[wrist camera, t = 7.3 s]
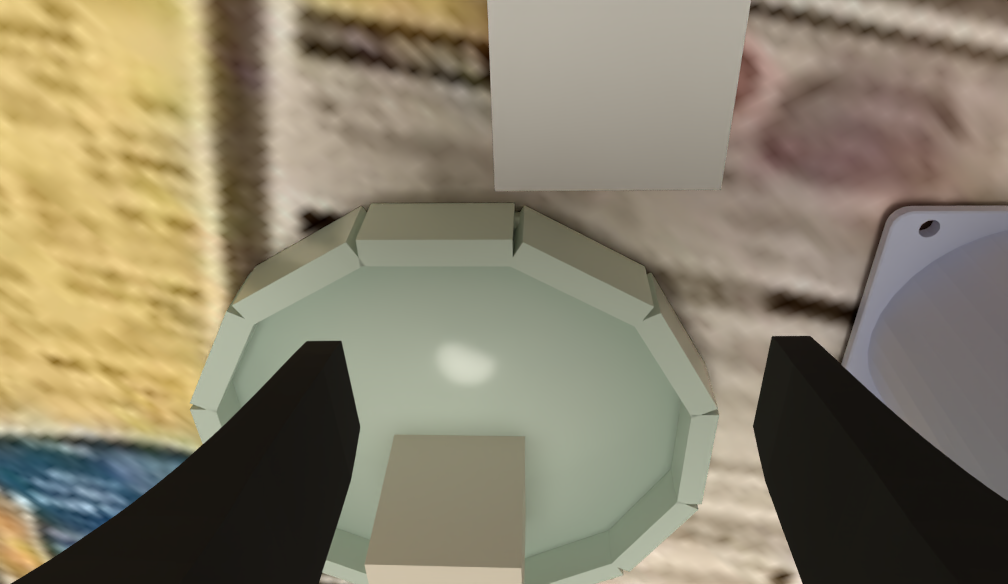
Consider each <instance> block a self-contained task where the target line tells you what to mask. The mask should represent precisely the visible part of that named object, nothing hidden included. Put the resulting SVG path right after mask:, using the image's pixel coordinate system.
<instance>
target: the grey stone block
mask: <svg viewBox="0 0 1008 584" xmlns="http://www.w3.org/2000/svg"><path fill="white" fill-rule="evenodd" d="M750 3H751V0H487V5H488V30H489V56H490V82H491V108H492V134H493V160H494V186H495V191H624V190H721V186H722V180H723V173H724V167H725V161H726V155H727V148H728V142H729V136H730V129H731V123H732V117H733V110H734V104H735V98H736V92H737V85H738V79H739V73H740V66H741V60H742V54H743V47H744V41H745V35H746V28H747V22H748V16H749V10H750Z"/></svg>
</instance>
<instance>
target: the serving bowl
mask: <svg viewBox="0 0 1008 584" xmlns="http://www.w3.org/2000/svg"><path fill="white" fill-rule="evenodd" d="M306 341H342V345H343V350H344V355H345V359H346V364H347V368H348V373H349V377H350V382H351V386H352V391H353V395H354V400H355V405H356V409H357V414H358V418H359V423H360V433H359V439H358V445H357V451H356V457H355V462H354V467H353V473H352V478H351V482H350V485H349V489H348V492H347V495H346V499H345V502H344V505H343V508H342V511H341V515H340V518H339V521H338V524H337V527H336V530H335V534H334V537H333V540H332V543H331V546H330V549H329V552H328V556H327V559H326V562H325V565H324V568H323V571H322V573H325V574H328V575H331V576H334V577H337V578H339V579H342V580H345V581H348V582H351V583H354V584H369V583H368V579H367V574H366V570H365V565H364V564H365V560H366V555H367V551H368V547H369V542H370V538H371V534H372V529H373V525H374V521H375V516H376V512H377V508H378V503H379V499H380V495H381V490H382V486H383V482H384V478H385V473H386V469H387V465H388V460H389V456H390V452H391V447H392V443H393V439H394V435H464V436H525V502H526V530H525V575H524V584H596V583H599V582H603V581H606V580H609V579H612V578H616V577H619V576H622V575H623V570H626V571H629V572H630V571H631V570H632V569H633V568H634V567H635V566H636V565H638V564H639V563H640V562H641V561H642V560H643V559H644V558H645V557H646V556H648V555H649V554H650V553H651V552H652V551H653V550H654V549H655V548H656V547H657V546H659V545H660V544H661V543H662V542H663V541H664V540H665V539H666V538H667V537H669V536H670V535H671V534H672V533H673V532H674V531H675V530H676V529H677V528H678V527H680V526H681V525H682V524H683V523H684V522H685V521H686V520H687V519H688V518H690V517H691V516H692V515H693V514H694V513H695V512H696V511H697V510H698V506H697V504H702V500H703V495H704V489H705V484H706V479H707V474H708V469H709V464H710V459H711V454H712V449H713V444H714V439H715V434H716V429H717V424H718V419H719V413H718V410H717V409H718V407H717V403H716V400H715V397H714V393H713V390H712V386H711V383H710V379H709V376H708V373H707V369H706V366H705V363H704V362H703V360H702V358H701V356H700V355H699V353H698V351H697V350H696V348H695V346H694V345H693V343H692V341H691V339H690V338H689V336H688V334H687V333H686V331H685V329H684V327H683V326H682V324H681V322H680V321H679V319H678V317H677V315H676V314H675V312H674V310H673V309H672V307H671V305H670V304H669V302H668V300H667V298H666V297H665V295H664V293H663V292H662V290H661V288H660V286H659V285H658V283H657V281H656V280H655V278H654V276H653V275H652V273H649V274H647V273H646V269H645V266H643V265H641V264H639V263H637V262H635V261H633V260H631V259H629V258H627V257H625V256H623V255H621V254H619V253H617V252H615V251H613V250H611V249H609V248H607V247H605V246H604V245H602V244H600V243H598V242H596V241H594V240H592V239H590V238H588V237H586V236H584V235H582V234H580V233H578V232H576V231H574V230H572V229H570V228H568V227H566V226H564V225H562V224H560V223H558V222H556V221H554V220H552V219H550V218H549V217H547V216H545V215H543V214H541V213H539V212H537V211H535V210H533V209H531V208H529V207H527V206H525V205H524V207H523V208H522V210H521V211H520V212H516V211H515V203H371V204H370V207H369V209H368V212H366V211H365V209H364V208H363V207H362V206H360V207H359V208H357V209H355V210H353V211H352V212H350V213H348V214H346V215H345V216H343V217H341V218H339V219H338V220H336V221H334V222H332V223H331V224H329V225H327V226H325V227H324V228H322V229H320V230H318V231H317V232H315V233H313V234H311V235H310V236H308V237H306V238H304V239H303V240H301V241H299V242H297V243H296V244H294V245H292V246H290V247H289V248H287V249H285V250H283V251H282V252H280V253H278V254H276V255H275V256H273V257H271V258H269V259H268V260H266V261H264V262H262V263H261V264H259V265H257V266H255V268H254V270H253V271H252V272H250V274H249V275H248V277H247V279H246V280H245V282H244V283H243V285H242V287H241V288H240V290H239V292H238V293H237V295H236V296H235V298H234V300H233V301H232V303H231V305H230V306H229V308H228V310H227V311H226V314H225V316H224V319H223V321H222V324H221V326H220V329H219V331H218V334H217V336H216V339H215V341H214V344H213V346H212V349H211V351H210V354H209V356H208V359H207V361H206V364H205V366H204V369H203V371H202V374H201V376H200V379H199V381H198V384H197V387H196V389H195V392H194V394H193V397H192V399H191V402H190V403H191V404H193V405H192V407H191V409H190V411H191V414H192V416H193V419H194V422H195V424H196V427H197V430H198V432H199V435H200V438H201V440H202V443H203V444H204V443H205V442H206V441H207V440H208V439H209V438H210V437H212V436H213V435H214V434H215V433H216V432H217V431H218V430H219V429H220V428H221V427H222V426H223V425H224V424H226V423H227V422H228V421H229V420H230V419H231V418H232V417H233V416H234V415H235V414H236V413H237V412H238V411H239V410H240V409H241V408H242V407H243V406H244V405H245V404H246V403H247V402H248V401H249V400H250V399H251V398H252V397H253V396H254V395H255V394H256V393H257V391H258V390H259V389H260V388H261V387H262V386H263V385H264V384H265V383H266V382H267V381H268V380H269V379H270V378H271V377H272V376H273V375H274V374H275V373H276V372H277V371H278V370H279V369H280V368H281V367H282V365H283V364H284V363H285V362H286V361H287V360H288V359H289V358H290V357H291V356H292V355H293V354H294V353H295V352H296V351H297V350H298V349H299V348H300V347H301V346H302V345H303V344H304V343H305V342H306Z"/></svg>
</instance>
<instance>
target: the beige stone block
mask: <svg viewBox="0 0 1008 584" xmlns="http://www.w3.org/2000/svg"><path fill="white" fill-rule="evenodd" d="M525 530H526V502H525V436H464V435H394V439H393V443H392V447H391V452H390V456H389V460H388V465H387V469H386V473H385V478H384V482H383V486H382V490H381V495H380V499H379V503H378V508H377V512H376V516H375V521H374V525H373V529H372V534H371V538H370V542H369V547H368V551H367V555H366V560H365V564H364V565H365V570H366V574H367V579H368V583H369V584H524V575H525Z"/></svg>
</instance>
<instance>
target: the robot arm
mask: <svg viewBox="0 0 1008 584" xmlns="http://www.w3.org/2000/svg"><path fill="white" fill-rule="evenodd" d="M930 220H933V223H932V224H931V226H929V227H928V228H926V229H923V230H919V228H920V227H921V225H922V224H923V223H925V222H926V221H930ZM753 428H754V433H755V437H756V442H757V447H758V452H759V456H760V461H761V465H762V469H763V473H764V477H765V482H766V484H767V487H768V490H769V493H770V496H771V499H772V501H773V504H774V507H775V510H776V512H777V515H778V518H779V521H780V523H781V526H782V529H783V532H784V534H785V537H786V540H787V542H788V545H789V548H790V550H791V553H792V556H793V559H794V561H795V564H796V567H797V569H798V572H799V575H800V577H801V580H802V583H803V584H1008V206H906V207H902V208H900V209H898V210H896V211H894V212H893V213H892V214H891V215H890V216H889V217H888V219H887V221H886V223H885V226H884V229H883V232H882V236H881V239H880V242H879V245H878V248H877V252H876V255H875V258H874V261H873V264H872V268H871V271H870V274H869V277H868V280H867V284H866V287H865V290H864V293H863V296H862V300H861V303H860V306H859V309H858V312H857V316H856V319H855V322H854V325H853V328H852V332H851V335H850V338H849V341H848V344H847V348H846V351H845V354H844V357H843V360H842V364H840V363H839V362H838V361H837V360H836V359H835V358H834V357H833V356H832V355H830V354H829V353H828V352H827V351H826V350H825V349H824V348H823V347H822V346H821V345H820V344H818V343H817V342H816V341H815V340H814V339H813V338H812V337H811V336H772V339H771V344H770V348H769V353H768V358H767V363H766V367H765V372H764V377H763V382H762V386H761V391H760V396H759V401H758V405H757V410H756V415H755V420H754V425H753ZM359 433H360V423H359V418H358V414H357V409H356V405H355V400H354V395H353V391H352V386H351V382H350V377H349V373H348V368H347V364H346V359H345V355H344V350H343V345H342V341H306V342H305V343H304V344H303V345H302V346H301V347H300V348H299V349H298V350H297V351H296V352H295V353H294V354H293V355H292V356H291V357H290V358H289V359H288V360H287V361H286V362H285V363H284V364H283V365H282V367H281V368H280V369H279V370H278V371H277V372H276V373H275V374H274V375H273V376H272V377H271V378H270V379H269V380H268V381H267V382H266V383H265V384H264V385H263V386H262V387H261V388H260V389H259V390H258V391H257V393H256V394H255V395H254V396H253V397H252V398H251V399H250V400H249V401H248V402H247V403H246V404H245V405H244V406H243V407H242V408H241V409H240V410H239V411H238V412H237V413H236V414H235V415H234V416H233V417H232V418H231V419H230V420H229V421H228V422H227V423H226V424H224V425H223V426H222V427H221V428H220V429H219V430H218V431H217V432H216V433H215V434H214V435H213V436H212V437H210V438H209V439H208V440H207V441H206V442H205V443H204V444H203V445H202V446H201V447H199V448H198V449H197V450H196V451H195V452H194V453H193V454H192V455H191V456H190V457H188V458H187V459H186V460H185V461H184V462H183V463H182V464H181V465H179V466H178V467H177V468H176V469H175V470H174V471H172V472H171V473H170V474H169V475H168V476H166V477H165V478H164V479H163V480H161V481H160V482H159V483H158V484H157V485H155V486H154V487H153V488H151V489H150V490H149V491H147V492H146V493H145V494H144V495H142V496H141V497H140V498H138V499H137V500H136V501H135V502H133V503H132V504H131V505H129V506H128V507H127V508H125V509H124V510H123V511H121V512H120V513H118V514H117V515H116V516H114V517H113V518H111V519H110V520H108V521H107V522H106V523H104V524H103V525H101V526H100V527H98V528H97V529H95V530H94V531H92V532H91V533H89V534H88V535H86V536H85V537H84V538H82V539H81V540H79V541H78V542H76V543H75V544H73V545H72V546H70V547H69V548H67V549H66V550H64V551H63V552H62V553H60V554H58V555H57V556H55V557H54V558H52V559H51V560H49V561H47V562H46V563H44V564H43V565H41V566H39V567H38V568H36V569H34V570H33V571H31V572H30V573H28V574H26V575H25V576H23V577H21V578H20V579H18V580H16V581H15V582H13V583H11V584H319V581H320V577H321V574H322V571H323V568H324V565H325V562H326V559H327V556H328V552H329V549H330V546H331V543H332V540H333V537H334V534H335V530H336V527H337V524H338V521H339V518H340V515H341V511H342V508H343V505H344V502H345V499H346V495H347V492H348V489H349V485H350V482H351V478H352V473H353V467H354V462H355V457H356V451H357V445H358V439H359Z"/></svg>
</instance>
